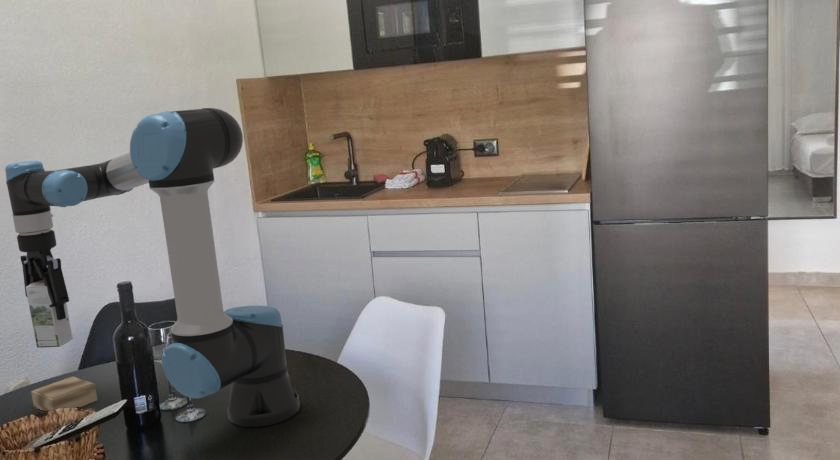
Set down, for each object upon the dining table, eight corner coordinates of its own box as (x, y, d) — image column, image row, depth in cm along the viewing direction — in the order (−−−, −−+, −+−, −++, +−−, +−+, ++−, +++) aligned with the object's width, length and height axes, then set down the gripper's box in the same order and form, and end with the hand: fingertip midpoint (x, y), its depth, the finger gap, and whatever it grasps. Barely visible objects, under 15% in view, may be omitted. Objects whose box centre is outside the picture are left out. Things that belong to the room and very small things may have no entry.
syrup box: (73, 338, 177) (63, 277, 174) (59, 347, 171) (48, 284, 168) (50, 339, 178) (39, 279, 175) (35, 348, 172) (24, 286, 169)
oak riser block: (97, 400, 178) (94, 383, 177) (55, 416, 170) (52, 399, 170) (75, 392, 184) (72, 375, 183) (33, 407, 176) (30, 390, 176)
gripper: (75, 231, 166) (92, 331, 170) (30, 225, 179) (46, 319, 183) (40, 238, 160) (59, 342, 165) (-4, 232, 173) (14, 328, 177)
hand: (52, 330), depth 174 cm, fingers closed on syrup box, 8 cm apart
